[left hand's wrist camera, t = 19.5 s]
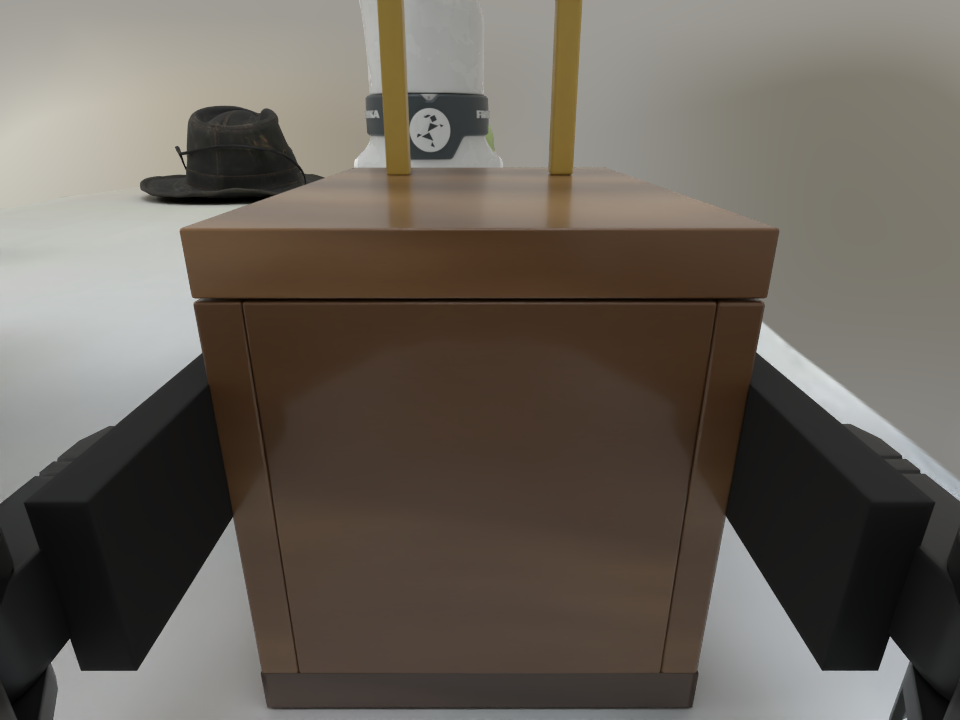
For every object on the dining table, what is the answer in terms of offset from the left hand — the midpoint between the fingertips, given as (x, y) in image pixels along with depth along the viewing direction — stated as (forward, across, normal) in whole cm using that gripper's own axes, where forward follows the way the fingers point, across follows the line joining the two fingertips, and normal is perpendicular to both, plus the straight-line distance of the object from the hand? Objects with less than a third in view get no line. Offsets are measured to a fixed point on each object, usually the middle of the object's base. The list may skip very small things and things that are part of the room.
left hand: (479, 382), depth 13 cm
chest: (+3, 0, +6) cm, 7 cm away
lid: (+4, 0, -3) cm, 5 cm away
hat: (+99, +42, +6) cm, 107 cm away
